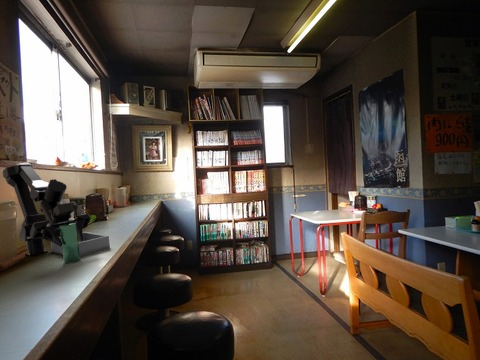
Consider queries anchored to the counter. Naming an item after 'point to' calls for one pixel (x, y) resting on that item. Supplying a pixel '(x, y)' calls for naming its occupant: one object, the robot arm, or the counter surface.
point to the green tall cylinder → (69, 243)
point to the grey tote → (87, 244)
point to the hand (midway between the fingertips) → (72, 242)
